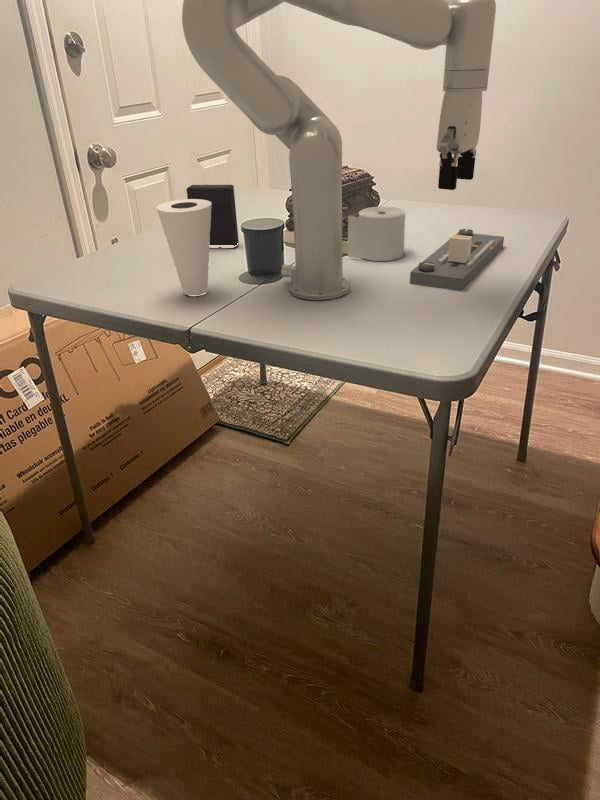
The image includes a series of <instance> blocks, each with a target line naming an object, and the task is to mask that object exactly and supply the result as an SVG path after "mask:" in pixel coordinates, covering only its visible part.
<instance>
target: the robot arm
mask: <svg viewBox="0 0 600 800" xmlns="http://www.w3.org/2000/svg"><path fill="white" fill-rule="evenodd" d="M282 3H287V4H289V5H291V6H294V7H297V8H300V9H303V10H304V11H308V12H311V13H313V14H316V15H319V16H320V17H321V16H322V17H323V18H326V19H329V20H331V21H334V22H337V23H340V24H342V25H346V26H352V27H359V28H363V29H366V30H368V31H372V32H375V33H377V34H380V35H383V36H386V37H388V38H391V39H394V40H396V41H399V42H401V43H404V44H406V45H409V46H410V47H412V48H414V49H417V50H418V49H419V50H423V51H428V50H433V49H435V48H437V47H440V46H445V58H444V70H443V71H444V72H443V83H442V84H443V85H442V91H443V92H444V94H443V99H442V104H441V107H440V109H441V110H440V115H439V122H438V123H439V124H438V131H437V132H438V133H437V139H436V151H437V152H438V153H439V159H440V160H439V163H438V164H439V170H438V171H439V173H438V182H437V183H438V184H437V188H438V189H439V190H446V191H447V190H449V191H454V190H456V189H457V183H458V182H457V181H458V180H469V181H471V180H473V179H474V175H475V166H476V165H475V163H476V156H477V146H478V143H479V139H480V131H481V122H482V107H483V106H482V105H483V92H486V91H488V84H489V74H490V66H491V65H490V64H491V58H492V57H491V56H492V47H493V39H494V30H495V22H496V21H495V20H496V12H497V11H496V10H497V4H496V1H495V0H183V1H182V8H181V22H182V23H181V24H182V25H181V26H182V29H183V30H182V31H183V35H184V39H185V41H186V42H185V43H186V44H187V47H188V49H189V52H190V53H191V56H192V57H193V59H194V60H195V62H196V63H197V65H198V66H199V67H200V69H202V71H203V72H204V74H206V75H207V77H208V78H209V79H210V80H211V81H212V82H213V83H214V84H215V85H216V86H217V87H218V88H219V89H220V90H221V91H222V93H224V95H226V97H228V99H229V100H230V101H231V102H232V103H233V104H234V105H235V106H236V107H237V108H238V109H239V110H240V111H241V112H242V113H243V114H244V115H245V116H246V117H247V118H248V119H249V120H250V122H251V123H252V124H253V125H254V127H256V128H257V129H258V130H259V131H260V132H262V133H264V134H266V135H269V136H275V137H277V139H278V140H279V141H281V143H282V144H283V145H284V146H285V147H286V148H287V149H288V150H289V155H288V160H289V161H288V162H289V163H288V164H289V173H290V174H289V177H290V184H291V187H290V188H291V200H292V217H293V218H292V219H293V236H294V257H295V258H294V259H295V262H294V263H295V266H294V265H292V264H287V263H286V264H282V266H281V271H280V276H281V277H282V278H283V277H284V278H290V279H291V282H290V283H289V285H288V290H289V293H290V294H291V295H292V296H294V297H295V298H299V299H304V300H311V301H325V300H326V301H327V300H332V299H337V298H340V297H342V296H345V295H346V294H348V292H349V291H350V290H351V283H350V281H349V280H348V279H347V278H345V277H343V272H344V271H343V197H342V195H343V187H342V186H343V183H342V178H343V176H342V174H343V173H342V172H343V171H342V170H343V169H342V168H343V140H342V135H341V132H340V131H339V129H338V127H337V126H336V124H335V123H333V121H332V120H331V118H329V117H328V116H327V115H326V114H325V113H324V111H322V109H320V107H318V106H317V104H315V102H314V101H313V100H312V99H311V98H310V97H309V96H308V95H307V94H306V93H305V91H303V89H302V88H301V87H300V86H298V85H297V84H296V83H295V82H294V81H293V80H292V79H291V78H288V77H286V76H285V75H280V74H277V73H275V72H274V71H273V70H272V69H271V68H270V67H269V66H268V64H266V63H265V62H264V61H263V60H262V59H261V57H260V56H259V54H257V53H256V52H255V50H254V49H252V47H250V45H248V44H247V43H246V42H245V40H243V38H242V37H241V36H240V35H239V33H238V31H237V30H236V29H238V28H240V27H242V26H244V25H246V24H247V23H249V22H251V21H253V20H254V19H256V18H258V17H260V16H262V15H265V13H268V12H269V11H271V10H272V9H274V8H276V7H278V6H279V5H281V4H282Z"/></svg>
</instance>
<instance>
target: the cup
mask: <svg viewBox="0 0 600 800" xmlns="http://www.w3.org/2000/svg"><path fill="white" fill-rule="evenodd" d="M211 205H212V203H211V202H210V201H207V200H202V199H188V198H186V199H184V198H183V199H174V200H171V201H166V202H163V203H160V204H158V205H157V206H156V211H157V215H158V217H159V221H160V223H161V226H162V230H163V234H164V235H165V237H166V241H167V245H168V248H169V251H170V254H171V257H172V261H173V263H174V264H173V265H174V267H175V268H176V272H177V276H178V280H179V282H180V285H181V289H182V292H183V295H184V294H186V295H200V294H203V293H205V292H207V293H208V287H209V286H208V285H209V283H208V282H209V262H210V248H209V245H210V226H211Z"/></svg>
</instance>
